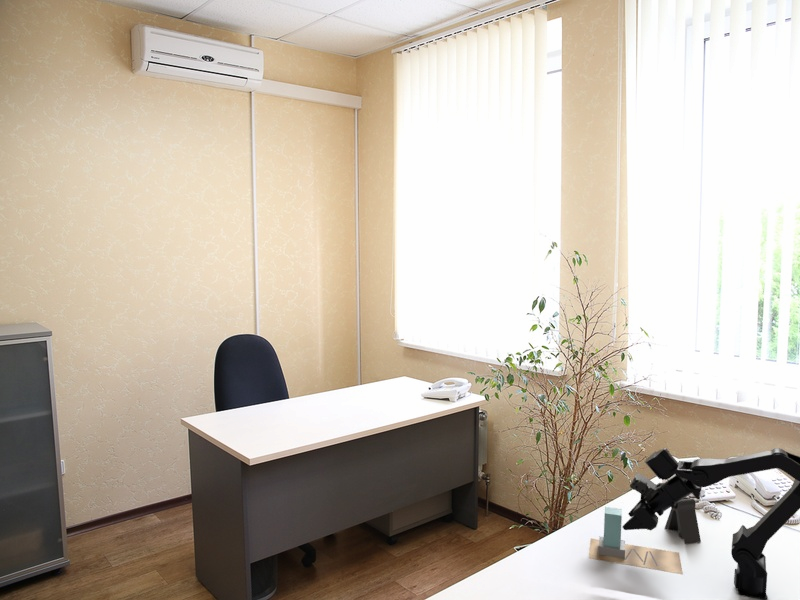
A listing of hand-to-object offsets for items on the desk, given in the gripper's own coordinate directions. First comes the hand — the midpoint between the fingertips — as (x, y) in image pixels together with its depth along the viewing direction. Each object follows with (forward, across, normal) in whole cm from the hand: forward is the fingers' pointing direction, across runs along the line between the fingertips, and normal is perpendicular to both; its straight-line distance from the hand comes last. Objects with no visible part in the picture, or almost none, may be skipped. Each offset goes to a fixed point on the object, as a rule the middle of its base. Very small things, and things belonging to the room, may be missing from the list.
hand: (626, 521), depth 172 cm
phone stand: (-1, -23, +17) cm, 29 cm away
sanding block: (+10, 0, +4) cm, 10 cm away
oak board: (+6, -1, +10) cm, 12 cm away
